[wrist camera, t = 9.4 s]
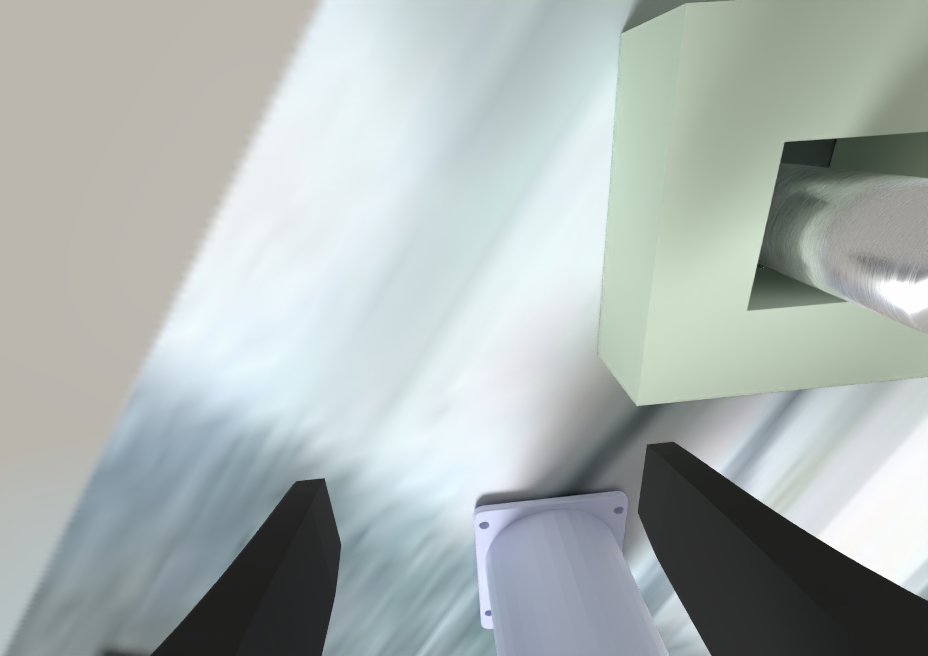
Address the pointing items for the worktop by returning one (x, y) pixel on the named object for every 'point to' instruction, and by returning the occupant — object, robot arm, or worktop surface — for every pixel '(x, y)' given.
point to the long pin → (853, 237)
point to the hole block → (750, 192)
